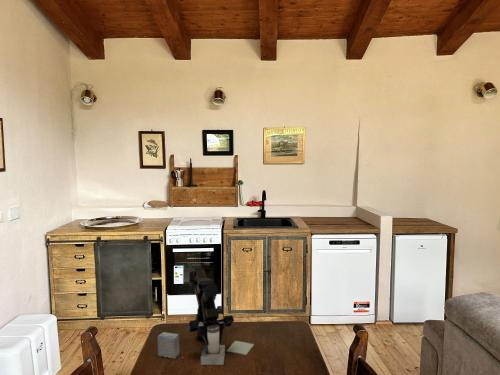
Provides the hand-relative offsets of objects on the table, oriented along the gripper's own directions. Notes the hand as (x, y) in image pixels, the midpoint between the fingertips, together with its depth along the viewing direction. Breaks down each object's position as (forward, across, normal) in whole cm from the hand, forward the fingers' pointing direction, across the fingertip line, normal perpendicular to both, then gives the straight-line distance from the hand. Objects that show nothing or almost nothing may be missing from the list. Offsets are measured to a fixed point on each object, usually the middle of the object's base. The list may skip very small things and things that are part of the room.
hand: (214, 344), depth 145 cm
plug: (+4, 0, +6) cm, 7 cm away
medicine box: (-2, -18, +12) cm, 21 cm away
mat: (0, +13, +9) cm, 16 cm away
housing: (+4, 0, +6) cm, 7 cm away
